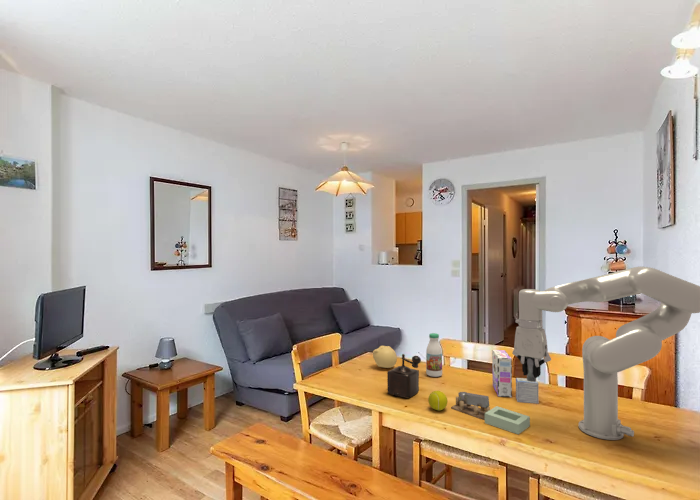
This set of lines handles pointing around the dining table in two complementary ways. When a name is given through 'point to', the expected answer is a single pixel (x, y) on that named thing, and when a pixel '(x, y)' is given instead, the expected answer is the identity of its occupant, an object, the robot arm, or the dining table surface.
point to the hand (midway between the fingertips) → (531, 375)
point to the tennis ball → (437, 400)
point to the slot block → (507, 420)
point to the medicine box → (526, 391)
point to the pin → (530, 369)
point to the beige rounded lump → (385, 356)
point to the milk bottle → (434, 356)
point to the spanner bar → (474, 399)
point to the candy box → (502, 373)
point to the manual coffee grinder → (404, 379)
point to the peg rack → (470, 409)
